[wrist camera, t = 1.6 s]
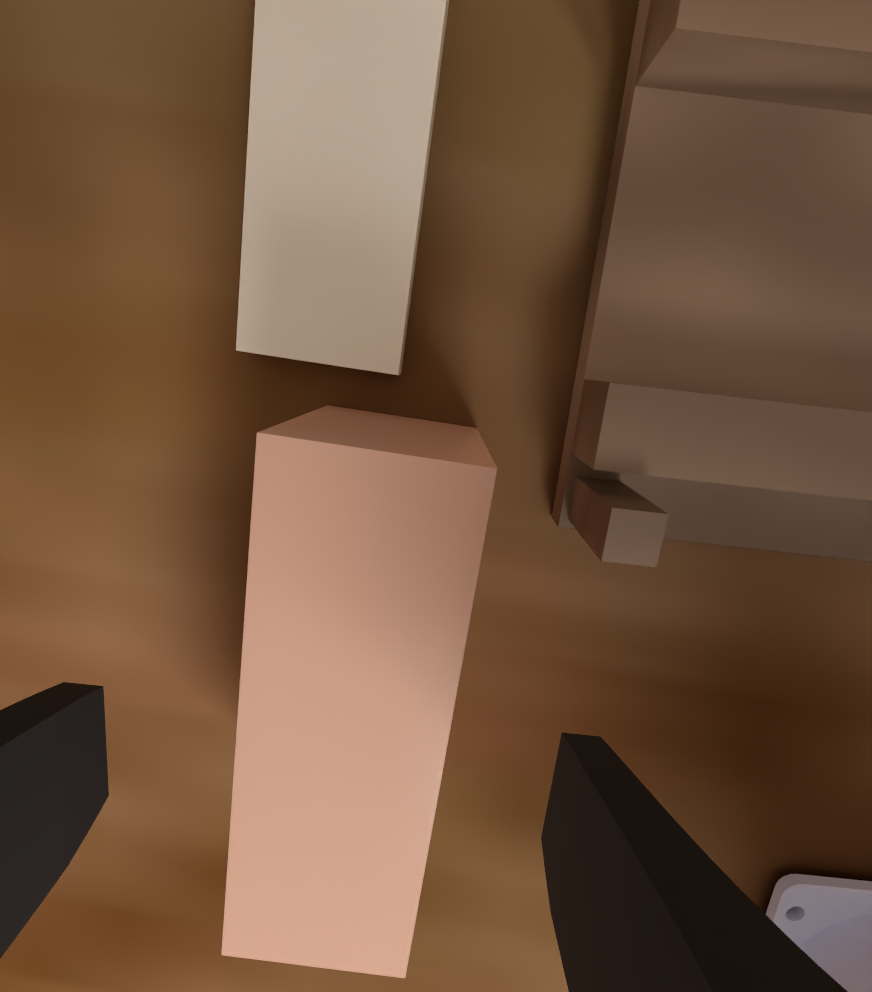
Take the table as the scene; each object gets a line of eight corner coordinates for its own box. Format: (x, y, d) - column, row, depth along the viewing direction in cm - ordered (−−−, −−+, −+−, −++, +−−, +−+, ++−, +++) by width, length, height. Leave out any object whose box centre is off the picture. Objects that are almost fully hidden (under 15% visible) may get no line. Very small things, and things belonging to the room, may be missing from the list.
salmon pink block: (417, 779, 15) (405, 978, 10) (293, 762, 15) (221, 955, 10) (476, 427, 13) (497, 468, 8) (328, 404, 13) (256, 432, 8)
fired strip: (402, 374, 13) (398, 374, 12) (255, 351, 13) (235, 350, 11) (471, -156, 10) (474, -222, 9) (289, -187, 10) (269, -258, 9)
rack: (917, 557, 13) (1077, 623, 10) (551, 517, 13) (588, 570, 10) (1126, -37, 10) (1455, -229, 7) (655, -97, 10) (760, -321, 7)
